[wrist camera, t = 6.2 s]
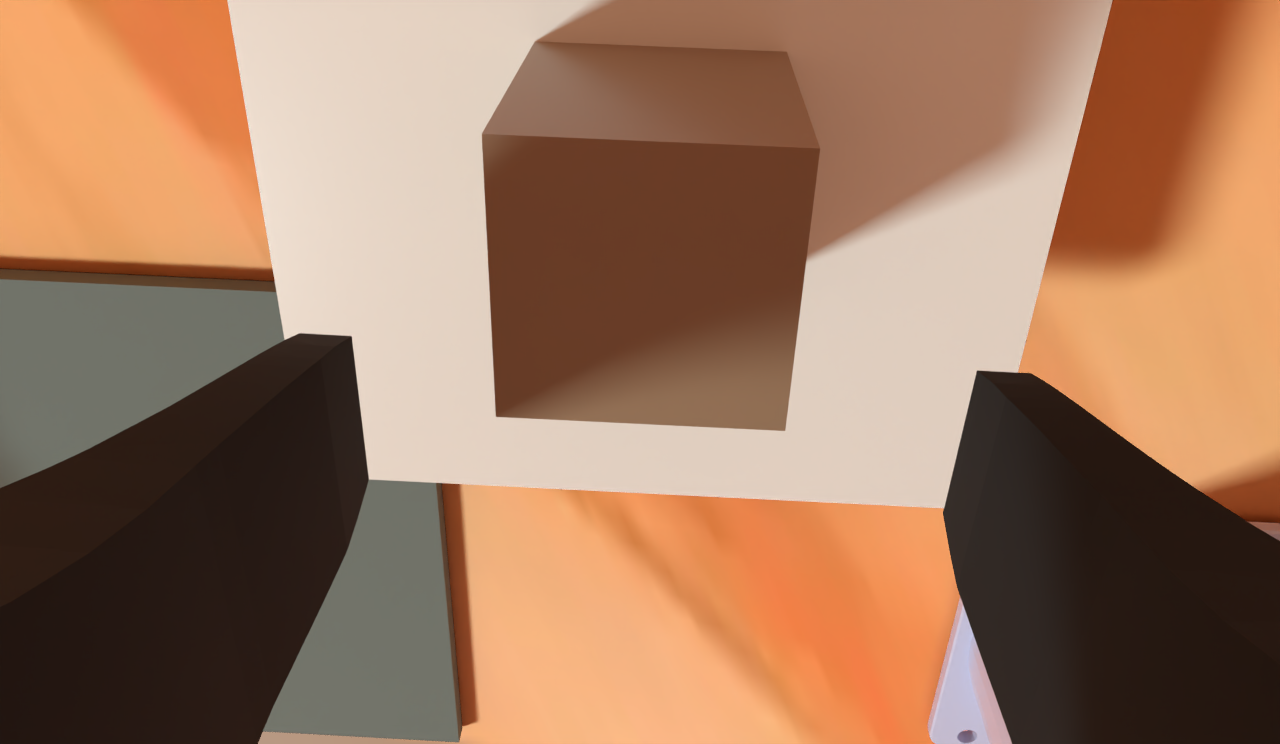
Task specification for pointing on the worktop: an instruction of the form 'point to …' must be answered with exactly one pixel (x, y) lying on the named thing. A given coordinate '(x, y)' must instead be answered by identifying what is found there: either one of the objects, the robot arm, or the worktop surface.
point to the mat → (171, 370)
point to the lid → (666, 228)
